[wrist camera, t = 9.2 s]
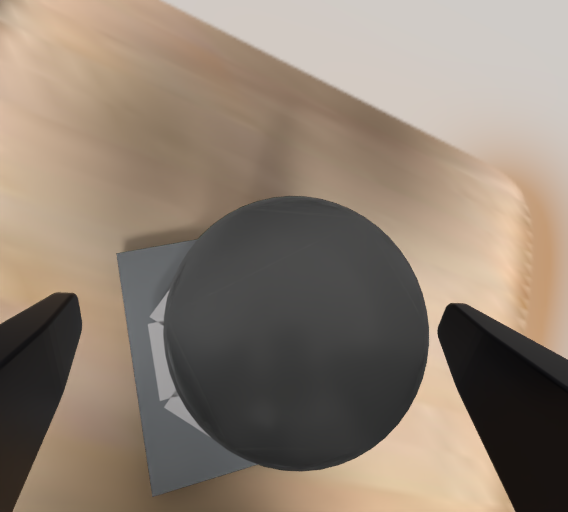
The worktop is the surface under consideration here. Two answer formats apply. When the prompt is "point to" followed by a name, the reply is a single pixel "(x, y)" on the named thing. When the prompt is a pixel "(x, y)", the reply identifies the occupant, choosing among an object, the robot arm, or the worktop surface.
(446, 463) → the worktop surface
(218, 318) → the canister
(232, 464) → the ring socket board
